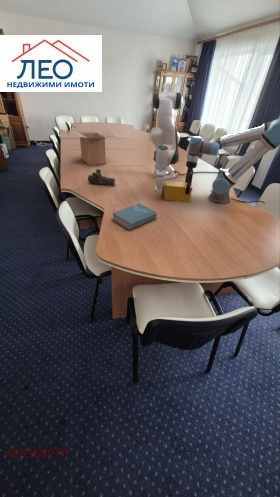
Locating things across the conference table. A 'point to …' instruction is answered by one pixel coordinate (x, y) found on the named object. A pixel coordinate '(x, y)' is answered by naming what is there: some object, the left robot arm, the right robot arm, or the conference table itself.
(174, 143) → the left robot arm
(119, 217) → the book
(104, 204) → the conference table surface
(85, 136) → the box
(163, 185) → the drawer
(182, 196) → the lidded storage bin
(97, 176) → the laser sight
